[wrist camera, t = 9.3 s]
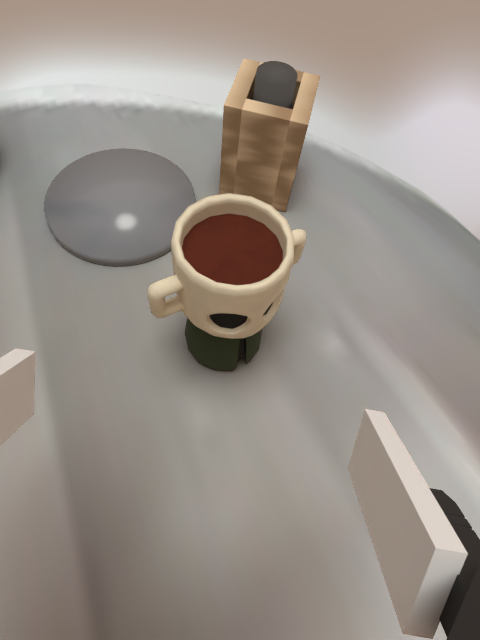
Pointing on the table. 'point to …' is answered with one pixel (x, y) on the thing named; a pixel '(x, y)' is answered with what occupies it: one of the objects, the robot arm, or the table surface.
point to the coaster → (117, 206)
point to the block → (263, 138)
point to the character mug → (227, 275)
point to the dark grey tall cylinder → (275, 84)
